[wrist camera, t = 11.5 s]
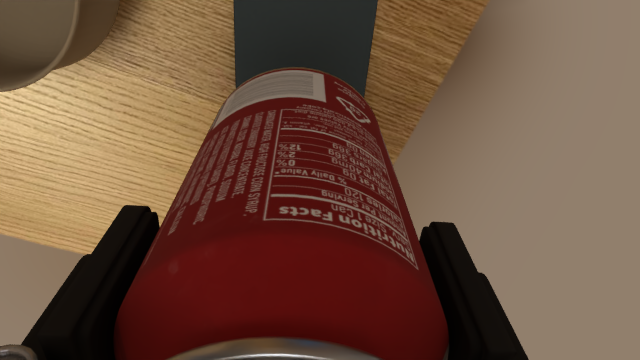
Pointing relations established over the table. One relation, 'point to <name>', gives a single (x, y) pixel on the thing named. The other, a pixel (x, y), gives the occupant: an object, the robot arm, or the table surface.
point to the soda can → (286, 240)
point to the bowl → (49, 36)
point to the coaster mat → (304, 37)
